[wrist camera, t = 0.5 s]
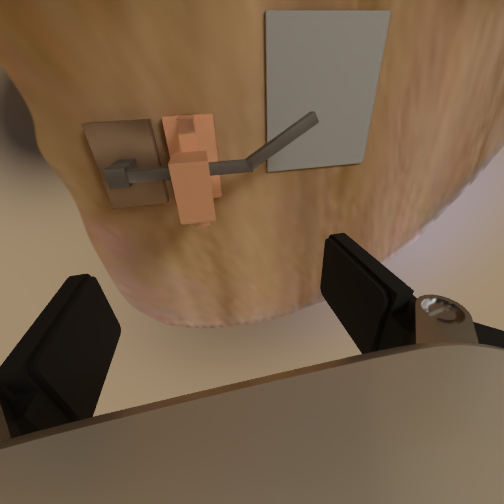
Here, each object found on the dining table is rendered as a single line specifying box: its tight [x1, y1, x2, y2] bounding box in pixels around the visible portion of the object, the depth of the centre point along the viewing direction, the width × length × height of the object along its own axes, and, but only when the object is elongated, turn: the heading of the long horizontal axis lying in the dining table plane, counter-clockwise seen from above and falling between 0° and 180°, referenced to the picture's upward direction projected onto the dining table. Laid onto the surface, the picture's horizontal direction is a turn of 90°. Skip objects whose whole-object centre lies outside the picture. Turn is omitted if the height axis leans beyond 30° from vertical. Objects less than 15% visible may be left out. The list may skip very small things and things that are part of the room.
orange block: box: [162, 113, 222, 227], centre depth 26 cm, size 10×6×15 cm, turn 3°
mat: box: [265, 10, 391, 172], centre depth 32 cm, size 17×15×1 cm
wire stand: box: [82, 111, 319, 209], centre depth 30 cm, size 10×26×8 cm, turn 93°
